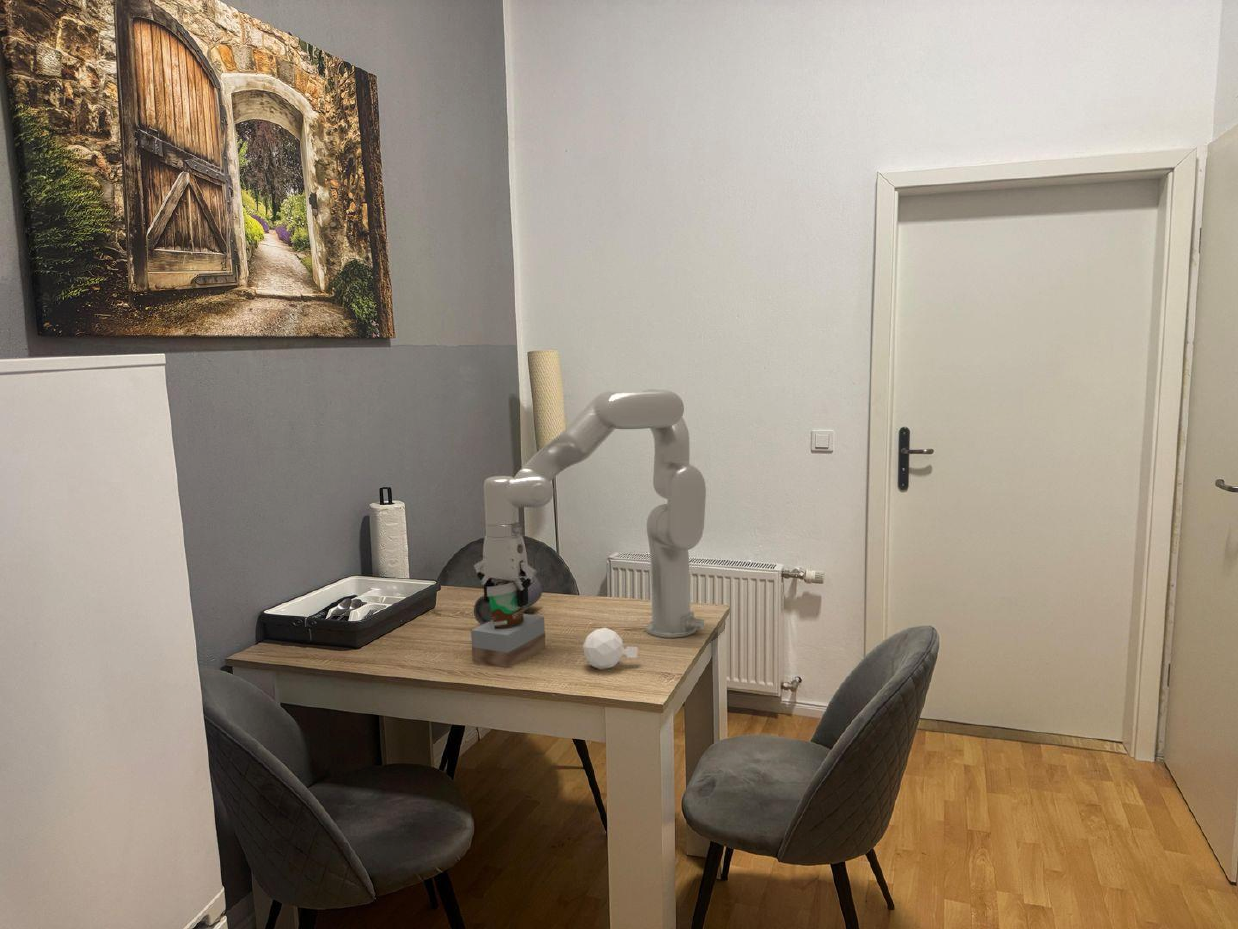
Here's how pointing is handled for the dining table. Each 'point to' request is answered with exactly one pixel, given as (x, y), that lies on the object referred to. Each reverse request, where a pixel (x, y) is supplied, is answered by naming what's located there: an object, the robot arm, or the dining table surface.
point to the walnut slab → (508, 658)
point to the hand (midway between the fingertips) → (506, 603)
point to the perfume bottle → (606, 648)
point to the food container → (505, 604)
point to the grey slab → (507, 634)
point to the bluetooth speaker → (484, 609)
